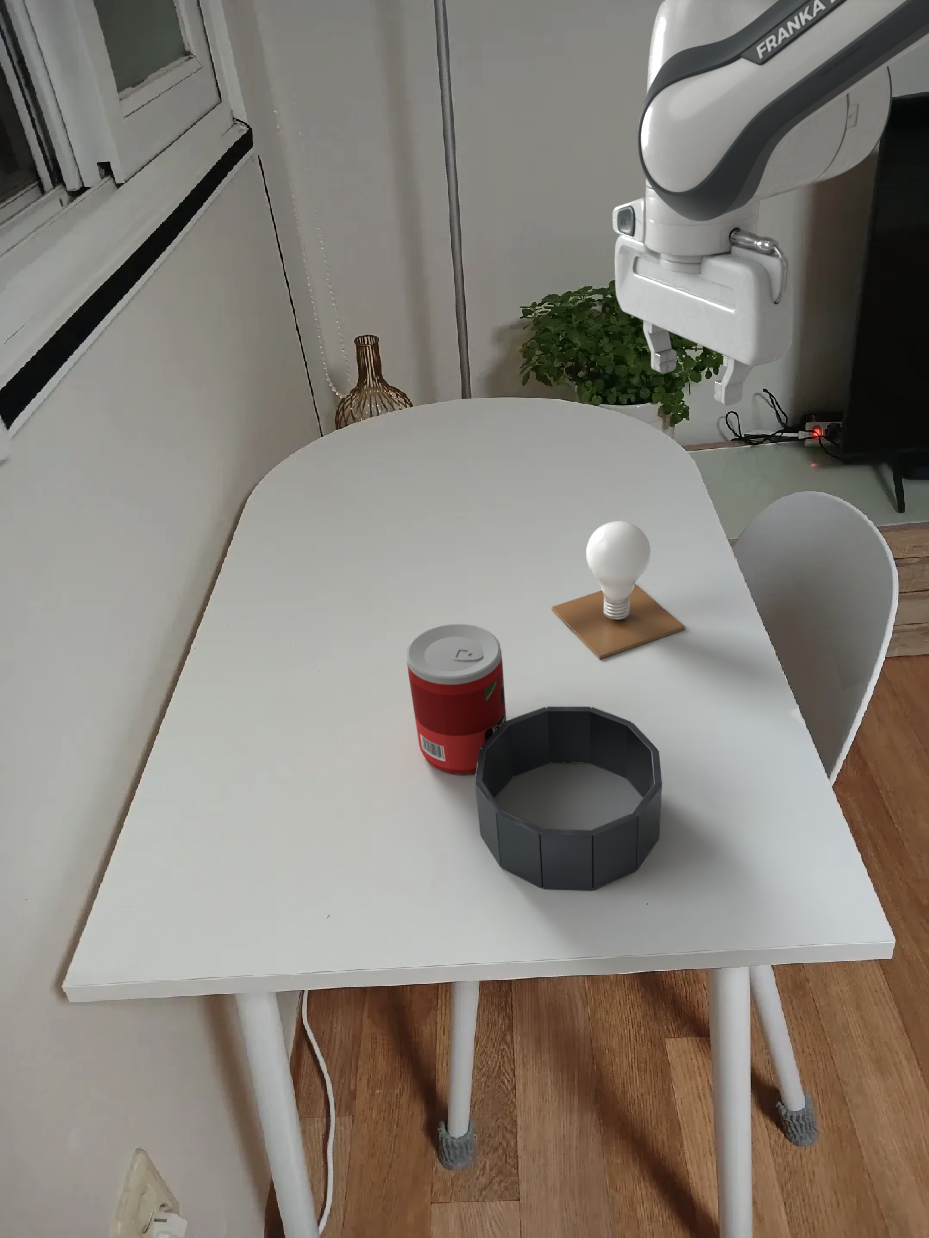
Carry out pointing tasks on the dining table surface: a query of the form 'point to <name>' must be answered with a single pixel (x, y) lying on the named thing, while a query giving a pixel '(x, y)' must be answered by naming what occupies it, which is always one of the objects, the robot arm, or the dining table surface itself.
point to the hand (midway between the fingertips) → (694, 385)
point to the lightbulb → (618, 563)
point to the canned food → (456, 694)
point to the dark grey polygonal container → (562, 851)
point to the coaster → (616, 622)
